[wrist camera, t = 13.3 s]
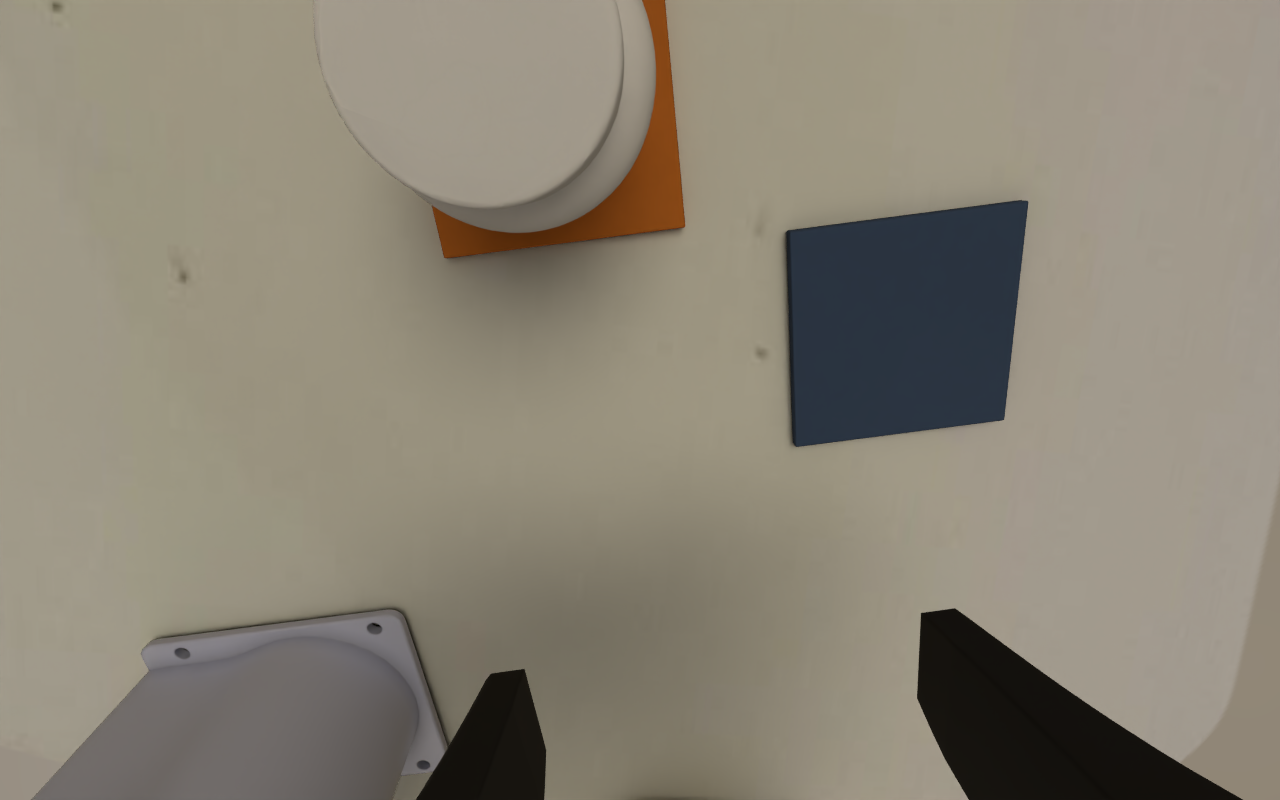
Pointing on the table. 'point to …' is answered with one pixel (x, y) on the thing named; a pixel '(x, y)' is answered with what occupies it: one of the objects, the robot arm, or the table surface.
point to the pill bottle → (494, 100)
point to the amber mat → (633, 205)
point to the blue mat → (903, 321)
